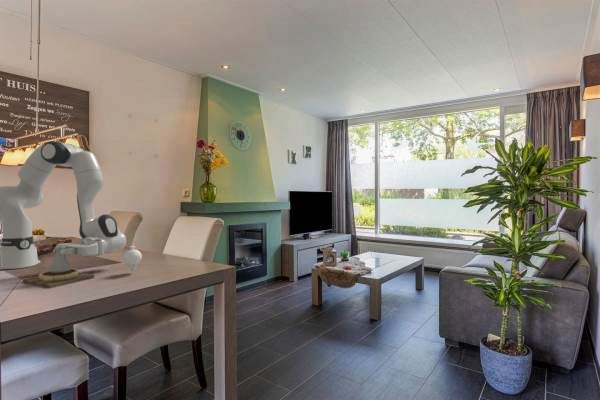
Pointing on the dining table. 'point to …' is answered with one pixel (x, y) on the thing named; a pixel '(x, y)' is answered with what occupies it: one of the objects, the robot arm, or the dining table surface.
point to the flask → (60, 262)
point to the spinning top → (132, 258)
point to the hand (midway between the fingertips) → (57, 251)
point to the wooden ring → (67, 275)
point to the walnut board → (57, 283)
